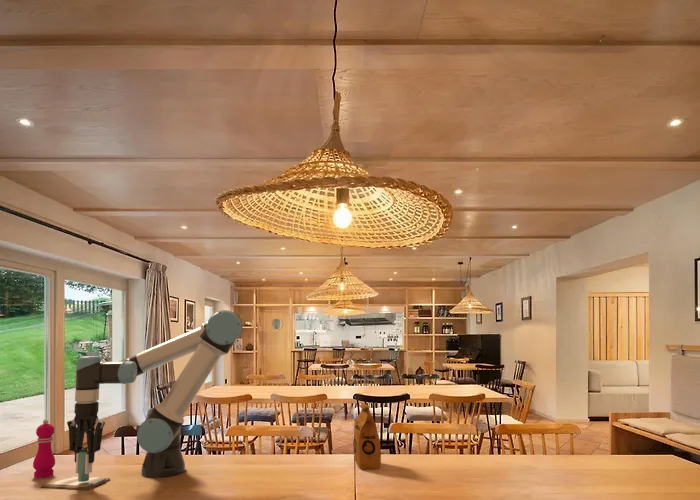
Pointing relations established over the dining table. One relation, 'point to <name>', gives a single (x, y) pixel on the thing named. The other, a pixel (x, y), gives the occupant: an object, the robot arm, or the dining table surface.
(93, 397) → the robot arm
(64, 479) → the clipboard
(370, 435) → the coffee package
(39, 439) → the pepper mill
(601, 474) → the dining table surface
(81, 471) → the bottle
